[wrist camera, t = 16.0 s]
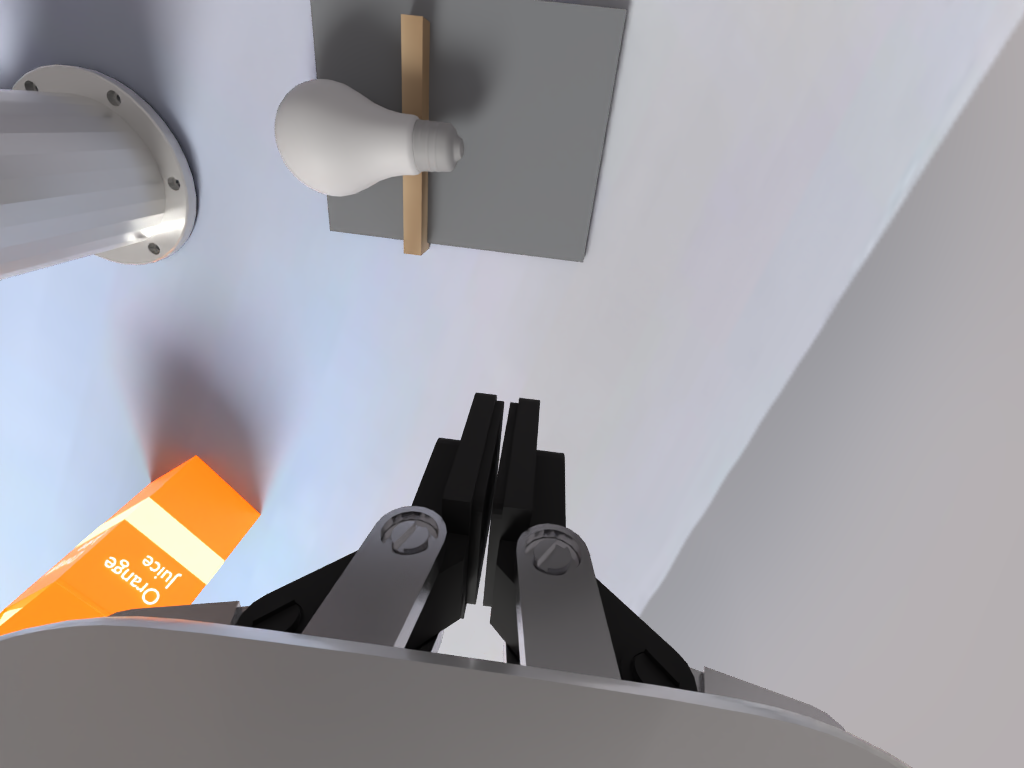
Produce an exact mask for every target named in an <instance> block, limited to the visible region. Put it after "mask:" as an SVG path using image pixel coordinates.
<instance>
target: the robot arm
mask: <svg viewBox="0 0 1024 768" xmlns="http://www.w3.org/2000/svg"><path fill="white" fill-rule="evenodd" d="M195 217H196V193H195V187H194V181H193V177H192V174H191V171H190V168H189V165H188V162H187V159H186V157H185V155H184V153H183V151H182V149H181V147H180V145H179V143H178V141H177V140H176V138H175V137H174V135H173V134H172V132H171V131H170V130H169V128H168V127H167V125H166V124H165V122H164V121H163V120H162V119H161V118H160V117H159V115H158V114H157V113H156V112H155V111H154V110H153V109H152V107H151V106H150V105H149V104H147V103H146V102H145V101H144V100H143V99H142V98H141V97H139V96H138V95H137V94H136V93H135V92H134V91H132V90H131V89H129V88H128V87H126V86H125V85H123V84H122V83H120V82H118V81H117V80H115V79H114V78H111V77H109V76H107V75H104V74H102V73H100V72H98V71H95V70H91V69H87V68H82V67H78V66H68V65H57V64H55V65H48V66H41V67H38V68H36V69H34V70H31V71H29V72H27V73H25V74H24V75H23V76H22V77H21V78H20V79H19V80H18V81H17V82H16V83H15V84H14V86H13V88H12V90H10V89H0V280H3V279H6V278H10V277H14V276H17V275H21V274H25V273H28V272H32V271H36V270H39V269H43V268H47V267H50V266H54V265H57V264H61V263H65V262H68V261H72V260H76V259H79V258H83V257H87V256H90V255H96V256H98V257H101V258H103V259H106V260H108V261H112V262H116V263H121V264H125V265H143V264H148V263H154V262H156V261H159V260H162V259H165V258H168V257H169V256H171V255H172V254H174V253H175V252H177V251H178V250H179V249H180V248H181V247H182V246H183V245H184V244H185V242H186V241H187V240H188V238H189V236H190V234H191V231H192V229H193V226H194V221H195ZM539 408H540V400H533V399H525V398H519V403H512V402H511V403H510V408H509V414H508V419H507V425H506V430H505V436H504V442H503V447H502V453H501V458H500V464H499V470H498V463H499V452H500V442H501V431H502V420H503V410H504V401H497V395H492V394H484V393H476V394H475V396H474V399H473V403H472V406H471V409H470V412H469V415H468V418H467V422H466V425H465V428H464V431H463V434H462V437H461V440H453V439H445V438H439V439H438V440H437V442H436V445H435V447H434V450H433V452H432V455H431V457H430V460H429V462H428V465H427V468H426V470H425V473H424V475H423V478H422V480H421V483H420V486H419V488H418V491H417V493H416V496H415V498H414V501H413V503H412V506H408V507H401V508H398V509H395V510H392V511H391V512H389V513H387V514H386V515H384V516H383V517H382V518H381V519H380V520H379V521H378V522H377V523H376V525H375V526H374V528H373V529H372V531H371V532H370V533H369V535H368V536H367V538H366V539H365V541H364V542H363V544H362V545H361V547H360V548H359V550H358V551H356V552H354V553H351V554H349V555H347V556H345V557H343V558H341V559H339V560H337V561H335V562H333V563H331V564H329V565H327V566H325V567H322V568H320V569H318V570H316V571H314V572H312V573H310V574H308V575H306V576H304V577H302V578H300V579H298V580H296V581H293V582H291V583H289V584H287V585H285V586H283V587H281V588H279V589H277V590H275V591H273V592H271V593H269V594H267V595H265V596H263V597H262V598H260V599H258V600H257V601H255V602H253V603H252V604H251V605H250V606H245V607H241V606H240V603H239V601H233V602H219V603H205V604H192V605H178V606H165V607H151V608H137V609H129V610H125V611H120V612H116V613H114V614H111V615H109V616H107V617H96V618H86V619H75V620H66V621H61V622H56V623H51V624H46V625H41V626H36V627H31V628H26V629H22V630H19V631H15V632H12V633H8V634H4V635H1V636H0V768H912V767H910V766H909V765H907V764H906V763H904V762H902V761H901V760H899V759H898V758H896V757H894V756H893V755H891V754H889V753H888V752H886V751H884V750H882V749H880V748H878V747H876V746H874V745H872V744H870V743H868V742H866V741H864V740H862V739H860V738H858V737H857V736H855V735H852V734H851V733H849V732H846V731H845V730H844V728H843V727H842V726H841V725H840V724H839V723H837V722H836V721H835V720H834V719H832V717H830V716H829V715H828V714H827V713H825V712H823V711H821V710H819V709H817V708H815V707H813V706H811V705H809V704H806V703H803V702H800V701H797V700H795V699H792V698H789V697H787V696H784V695H781V694H778V693H776V692H773V691H770V690H767V689H765V688H762V687H759V686H757V685H754V684H751V683H748V682H746V681H743V680H740V679H737V678H735V677H732V676H729V675H726V674H724V673H721V672H718V671H715V670H713V669H710V668H707V667H704V668H703V670H702V672H701V671H698V670H695V669H692V668H690V667H689V666H688V664H687V663H686V662H685V661H684V659H683V658H682V657H681V656H680V655H679V654H678V653H677V652H676V651H675V650H674V649H673V648H672V647H671V646H670V645H669V644H668V643H667V642H665V641H664V640H663V639H662V638H661V637H660V636H659V635H658V634H657V633H656V632H654V631H653V630H652V629H651V628H650V627H649V626H648V625H647V624H646V623H645V622H644V621H642V620H641V619H640V618H639V617H638V616H637V615H636V614H635V613H634V612H633V611H632V610H630V609H629V608H628V607H627V606H626V605H625V604H624V603H623V602H622V601H621V600H619V599H618V598H617V597H616V596H615V595H614V594H613V593H612V592H611V591H610V590H609V589H607V588H606V587H605V586H604V585H603V584H602V583H601V582H600V581H599V580H598V579H597V578H596V577H595V574H594V570H593V566H592V562H591V558H590V554H589V551H588V548H587V546H586V544H585V542H584V541H583V540H582V539H581V538H580V536H579V535H577V534H576V533H575V532H573V531H572V530H570V529H568V528H566V515H565V456H564V453H556V452H548V451H540V450H536V449H537V436H538V422H539ZM497 473H498V475H497ZM490 520H491V523H490ZM489 526H490V534H489V545H488V556H487V567H486V578H485V589H484V600H483V606H490V607H492V608H491V617H490V624H491V625H492V626H493V627H494V629H495V630H496V631H497V632H498V633H499V635H500V636H501V637H502V638H503V640H504V646H503V660H504V663H503V662H496V661H489V660H482V659H475V658H468V657H461V656H454V655H447V654H440V653H437V652H438V650H439V647H440V644H441V642H442V638H443V633H444V629H445V628H447V627H448V626H450V625H451V624H453V623H454V622H456V621H457V620H459V619H460V618H462V619H464V614H465V609H466V604H467V603H469V604H476V599H477V594H478V588H479V582H480V577H481V571H482V565H483V560H484V554H485V548H486V543H487V537H488V531H489Z"/></svg>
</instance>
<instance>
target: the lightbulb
mask: <svg viewBox="0 0 1024 768" xmlns="http://www.w3.org/2000/svg"><path fill="white" fill-rule="evenodd" d="M275 138H276V143H277V147H278V150H279V152H280V155H281V157H282V159H283V161H284V163H285V165H286V166H287V167H288V169H289V170H290V171H291V172H292V173H293V175H294V176H295V177H296V178H297V179H298V180H300V181H301V182H302V183H303V184H305V185H306V186H307V187H309V188H311V189H313V190H315V191H317V192H319V193H322V194H326V195H330V196H339V197H342V196H347V195H352V194H356V193H358V192H360V191H362V190H365V189H367V188H369V187H370V186H372V185H374V184H376V183H377V182H379V181H381V180H384V179H387V178H390V177H395V176H401V175H418V174H420V173H421V172H423V171H429V172H451V171H452V170H454V169H455V167H456V165H457V162H458V161H459V160H460V159H462V158H463V155H464V142H463V139H462V138H460V137H459V136H458V134H457V131H456V129H455V127H454V126H453V125H452V124H451V123H444V122H436V121H429V120H421V119H419V118H418V117H417V116H416V115H411V114H403V113H399V112H395V111H392V110H388V109H386V108H384V107H382V106H379V105H377V104H375V103H373V102H372V101H371V100H369V99H368V98H366V97H365V96H363V95H362V94H360V93H359V92H357V91H355V90H354V89H352V88H350V87H349V86H347V85H345V84H343V83H339V82H336V81H333V80H329V79H315V80H311V81H306V82H303V83H301V84H299V85H297V86H295V87H294V88H293V89H292V90H291V91H290V92H289V93H287V94H286V96H285V97H284V99H283V100H282V102H281V103H280V105H279V107H278V110H277V114H276V119H275Z"/></svg>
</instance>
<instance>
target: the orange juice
mask: <svg viewBox="0 0 1024 768" xmlns="http://www.w3.org/2000/svg"><path fill="white" fill-rule="evenodd" d="M260 515H261V514H260V513H259V512H257V511H256V510H255V509H254V508H253V507H252V506H251V505H250V504H249V503H248V502H247V501H246V500H244V499H243V498H242V497H241V496H240V495H239V494H238V493H237V492H236V491H235V490H234V489H233V488H232V487H230V486H229V485H228V484H227V483H226V482H225V481H224V480H223V479H222V478H221V477H220V476H219V475H217V474H216V473H215V472H214V471H213V470H212V469H211V468H210V467H209V466H208V465H207V464H206V463H204V462H203V461H202V460H201V459H200V458H199V457H198V456H197V455H196V456H194V457H193V458H191V459H189V460H188V461H186V462H184V463H183V464H181V465H179V466H178V467H176V468H174V469H173V470H171V471H170V472H168V473H166V474H165V475H163V476H161V477H160V478H158V479H156V480H155V481H153V482H151V483H150V484H149V485H148V486H147V487H146V488H144V489H143V490H142V491H141V492H140V493H139V494H137V495H136V496H135V497H134V498H133V499H132V500H130V501H129V502H128V503H127V504H126V505H125V506H123V507H122V508H121V509H120V510H119V511H118V512H117V513H115V514H114V515H113V516H112V517H111V518H110V519H108V520H107V521H106V522H105V523H104V524H102V525H101V526H99V527H98V528H97V529H96V530H95V531H94V532H92V533H91V534H90V535H89V536H88V537H87V538H85V539H84V540H83V541H82V542H81V543H80V544H78V545H77V546H76V547H75V549H74V550H72V551H71V552H70V553H69V554H68V555H67V556H65V557H64V558H63V559H62V560H61V561H60V562H58V563H57V564H56V565H55V566H54V567H53V568H51V569H50V570H49V571H48V572H47V573H46V574H45V575H43V576H42V577H41V578H40V579H39V580H38V581H36V582H35V583H34V584H33V585H32V586H31V587H29V588H28V589H27V590H26V591H25V592H24V593H22V594H21V595H20V596H19V597H18V598H17V599H16V600H14V601H13V602H12V603H11V604H10V605H9V606H7V607H6V608H5V609H4V610H3V611H2V612H1V613H0V636H1V635H4V634H8V633H12V632H15V631H19V630H22V629H26V628H31V627H36V626H41V625H46V624H51V623H56V622H61V621H66V620H75V619H86V618H96V617H107V616H109V615H111V614H114V613H116V612H120V611H125V610H129V609H137V608H151V607H165V606H178V605H191V603H192V602H193V601H194V599H195V598H196V597H197V596H198V594H199V593H200V592H201V590H202V589H203V588H204V587H205V585H207V584H208V582H209V581H210V580H211V579H212V577H213V576H214V575H215V574H216V572H217V571H218V570H219V568H220V567H221V566H222V565H223V563H224V562H225V560H226V559H227V557H228V556H229V555H230V553H231V552H232V551H233V550H234V548H235V547H236V546H237V544H238V543H239V542H240V541H241V539H242V538H243V537H244V535H245V534H246V533H247V532H248V530H249V529H250V528H251V527H252V525H253V524H254V523H255V521H256V520H257V519H258V518H259V516H260Z"/></svg>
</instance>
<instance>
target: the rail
mask: <svg viewBox="0 0 1024 768" xmlns="http://www.w3.org/2000/svg"><path fill="white" fill-rule="evenodd" d="M429 57H430V22H429V21H428V20H427V19H425V18H424V17H423V16H414V15H405V14H401V59H402V113H403V114H411V115H416V116H417V117H418V118H419V119H421V120H429ZM427 222H428V171H423V172H421V173H420V174H418V175H403V227H404V253H406V254H414V255H422V254H423V253H424V252H426V251H427V250H428V249H429V243H427Z"/></svg>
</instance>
